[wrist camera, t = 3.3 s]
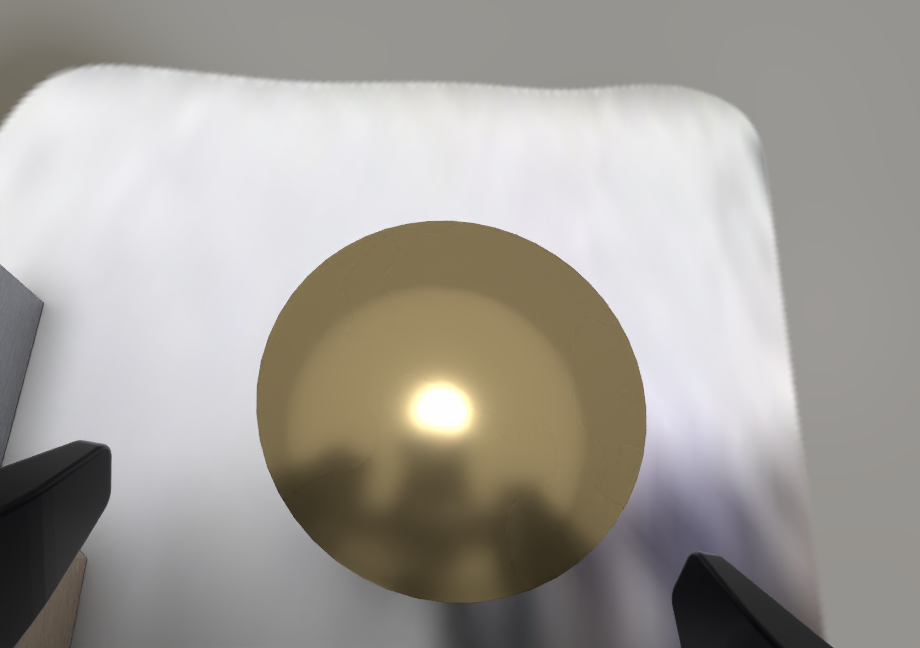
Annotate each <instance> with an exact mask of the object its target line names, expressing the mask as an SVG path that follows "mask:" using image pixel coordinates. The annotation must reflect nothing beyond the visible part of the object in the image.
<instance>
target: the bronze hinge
mask: <svg viewBox="0 0 920 648" xmlns="http://www.w3.org/2000/svg"><path fill="white" fill-rule="evenodd" d="M43 303H44V302H42V301H41V300H40V299H39V298H38V297H37V296H36V295H34V294H33V293H32V292H31V291H30V290H29V289H28V288H26V287H25V286H24V285H23V284H22V283H21V282H20V281H19V280H17V279H16V278H15V277H14V276H13V275H12V274H11V273H9V272H8V271H7V270H6V269H5V268H4V267H3V266H1V265H0V467H1V464H2V460H3V456H4V452H5V448H6V444H7V441H8V437H9V433H10V429H11V425H12V422H13V418H14V414H15V410H16V406H17V402H18V399H19V395H20V391H21V387H22V383H23V379H24V376H25V372H26V368H27V364H28V360H29V357H30V353H31V349H32V345H33V341H34V337H35V334H36V330H37V326H38V322H39V318H40V314H41V311H42V307H43ZM86 560H87V558H86V557H85V556H84V555H83V554H82V553H81V551H79V552H78V554H77V556H76V557H75V559H74V560H73V562H72V564H71V565H70V567H69V569H68V570H67V572H66V574H65V575H64V577H63V578H62V580H61V582H60V583H59V585H58V587H57V588H56V590H55V591H54V593H53V594H52V596H51V598H50V599H49V601H48V602H47V604H46V605H45V607H44V608H43V609H42V611H41V612H40V614H39V615H38V616H37V618H36V619H35V620H34V622H33V623H32V624H31V626H30V627H29V628H28V630H27V631H26V632H25V634H24V635H23V636H22V638H21V639H20V640H19V642H18V643H17V644H16V646H15V647H14V648H70V644H71V639H72V633H73V628H74V623H75V618H76V612H77V607H78V602H79V597H80V591H81V586H82V581H83V575H84V570H85V565H86Z"/></svg>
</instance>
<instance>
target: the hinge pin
mask: <svg viewBox="0 0 920 648" xmlns="http://www.w3.org/2000/svg"><path fill="white" fill-rule="evenodd" d="M257 421H258V429H259V436H260V442H261V446H262V449H263V453H264V457H265V460H266V464H267V467H268V470H269V472H270V474H271V476H272V479H273V481H274V483H275V486H276V488H277V490H278V492H279V494H280V496H281V497H282V499H283V501H284V502H285V504H286V505H287V507H288V509H289V510H290V512H291V514H292V515H293V517H294V518H295V519H296V521H297V522H298V523H299V524H300V525H301V527H302V528H303V529H304V530H305V531H306V532H307V534H308V535H309V536H310V537H311V538H312V540H313V541H314V542H316V543H317V544H318V545H319V546H320V547H321V548H322V549H323V550H325V551H326V552H327V553H328V554H329V555H330V556H331V557H332V558H334V559H335V560H336V561H337V562H338V563H340V564H341V565H343V566H344V567H346V568H347V569H349V570H350V571H352V572H353V573H355V574H356V575H358V576H359V577H361V578H363V579H366V580H368V581H370V582H372V583H374V584H376V585H378V586H381V587H383V588H385V589H388V590H391V591H394V592H398V593H401V594H404V595H408V596H411V597H414V598H418V599H425V600H432V601H439V602H445V603H476V602H482V601H489V600H496V599H502V598H506V597H510V596H513V595H516V594H519V593H523V592H526V591H529V590H532V589H534V588H536V587H538V586H540V585H542V584H544V583H547V582H549V581H551V580H553V579H555V578H557V577H558V576H560V575H561V574H563V573H564V572H566V571H567V570H568V569H570V568H571V567H573V566H574V565H576V564H577V563H579V562H580V561H581V560H582V559H583V558H584V557H585V556H586V555H587V554H588V553H590V552H591V551H592V550H593V549H594V548H595V547H596V546H597V545H598V544H599V543H600V542H601V540H602V539H603V538H604V537H605V535H606V534H607V533H608V532H609V530H610V529H611V528H612V527H613V526H614V524H615V523H616V521H617V519H618V518H619V516H620V514H621V512H622V511H623V509H624V507H625V506H626V504H627V502H628V500H629V497H630V495H631V493H632V490H633V488H634V485H635V483H636V481H637V478H638V474H639V470H640V466H641V462H642V459H643V454H644V446H645V438H646V403H645V396H644V388H643V382H642V379H641V375H640V371H639V367H638V363H637V360H636V358H635V355H634V352H633V350H632V347H631V345H630V342H629V340H628V338H627V336H626V334H625V332H624V330H623V329H622V327H621V325H620V323H619V321H618V319H617V318H616V316H615V315H614V313H613V312H612V311H611V309H610V308H609V306H608V305H607V303H606V302H605V301H604V299H603V298H602V297H601V296H600V295H599V294H598V292H597V291H596V290H595V289H594V288H593V287H592V286H591V284H590V283H589V282H588V281H586V280H585V279H584V278H583V277H582V276H581V275H580V274H579V273H578V272H577V271H576V270H575V269H573V268H572V267H571V266H569V265H568V264H567V263H565V262H564V261H563V260H561V259H560V258H559V257H557V256H556V255H554V254H553V253H551V252H549V251H548V250H546V249H544V248H543V247H541V246H539V245H537V244H536V243H533V242H531V241H529V240H527V239H525V238H522V237H520V236H518V235H516V234H513V233H510V232H506V231H503V230H500V229H497V228H494V227H489V226H485V225H480V224H475V223H467V222H457V221H426V222H418V223H410V224H404V225H400V226H396V227H392V228H388V229H384V230H382V231H379V232H376V233H374V234H371V235H368V236H366V237H363V238H361V239H359V240H358V241H356V242H354V243H352V244H350V245H348V246H346V247H344V248H343V249H341V250H340V251H338V252H337V253H335V254H334V255H332V256H331V257H329V258H328V259H327V260H325V261H324V262H323V263H322V264H321V265H320V266H318V267H317V268H316V269H315V270H314V271H313V272H312V273H311V274H310V275H308V276H307V277H306V279H305V280H304V281H303V282H302V283H301V284H300V286H299V287H298V288H297V289H296V290H295V291H294V293H293V294H292V295H291V297H290V298H289V300H288V301H287V303H286V304H285V306H284V308H283V309H282V311H281V312H280V314H279V316H278V318H277V320H276V322H275V324H274V326H273V328H272V331H271V333H270V335H269V337H268V340H267V343H266V347H265V350H264V353H263V356H262V360H261V365H260V371H259V377H258V383H257Z"/></svg>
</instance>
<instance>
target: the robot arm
mask: <svg viewBox="0 0 920 648" xmlns="http://www.w3.org/2000/svg"><path fill="white" fill-rule="evenodd" d="M111 457H112V456H111V450H110V448H109V447H108V446H107V445H105V444H101V443H95V442H90V441H84V440H78V441H74V442H72V443H69V444H66V445H63V446H60V447H58V448H55V449H52V450H49V451H46V452H44V453H41V454H38V455H35V456H33V457H30V458H27V459H24V460H21V461H19V462H16V463H13V464H10V465H8V466H5V467H2V468H0V648H14V647H15V646H16V644H17V643H18V642H19V640H20V639H21V638H22V636H23V635H24V634H25V632H26V631H27V630H28V628H29V627H30V626H31V624H32V623H33V622H34V620H35V619H36V618H37V616H38V615H39V614H40V612H41V611H42V609H43V608H44V607H45V605H46V604H47V602H48V601H49V599H50V598H51V596H52V594H53V593H54V591H55V590H56V588H57V587H58V585H59V583H60V582H61V580H62V578H63V577H64V575H65V574H66V572H67V570H68V569H69V567H70V565H71V564H72V562H73V560H74V559H75V557H76V556H77V554H78V552H79V551H80V549H81V547H82V546H83V544H84V542H85V541H86V539H87V538H88V536H89V534H90V533H91V531H92V529H93V528H94V526H95V524H96V523H97V521H98V519H99V518H100V516H101V515H102V513H103V511H104V510H105V508H106V506H107V504H108V501H109V498H110V494H111ZM672 606H673V611H674V615H675V620H676V625H677V629H678V634H679V639H680V643H681V648H833V647H832V646H830V645H829V644H828V643H827V642H825V641H824V640H823V639H822V638H821V637H819V636H818V635H817V634H816V633H814V632H813V631H812V630H811V629H810V628H808V627H807V626H806V625H805V624H803V623H802V622H801V621H800V620H799V619H797V618H796V617H795V616H794V615H792V614H791V613H790V612H789V611H787V610H786V609H785V608H784V607H783V606H781V605H780V604H779V603H778V602H776V601H775V600H774V599H773V598H772V597H770V596H769V595H768V594H767V593H765V592H764V591H763V590H762V589H761V588H759V587H758V586H757V585H756V584H754V583H753V582H752V581H751V580H750V579H748V578H747V577H746V576H745V575H743V574H742V573H741V572H740V571H739V570H737V569H736V568H735V567H734V566H732V565H731V564H730V563H729V562H727V561H726V560H725V559H724V558H723V557H721V556H719V555H717V554H712V553H707V552H701V551H694V552H692V553H691V554H690V555H689V556H688V558H687V560H686V562H685V564H684V566H683V569H682V571H681V573H680V575H679V577H678V579H677V582H676V584H675V586H674V589H673V593H672Z"/></svg>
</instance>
